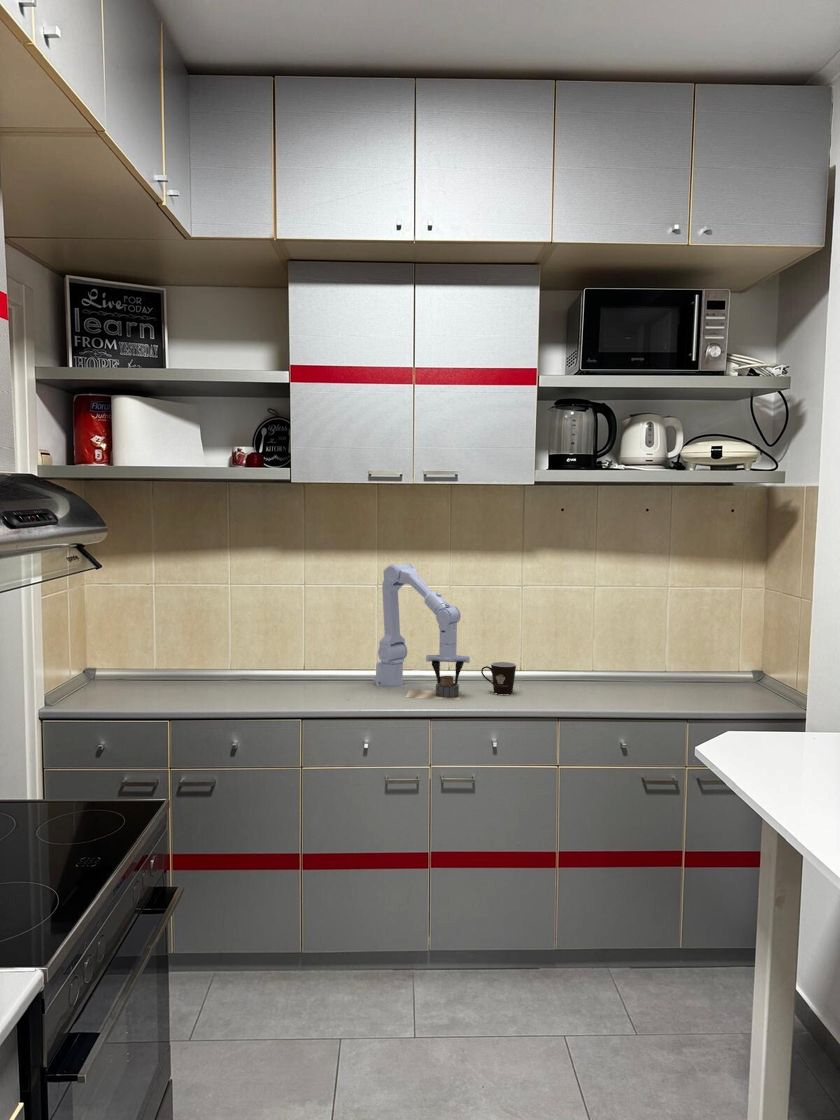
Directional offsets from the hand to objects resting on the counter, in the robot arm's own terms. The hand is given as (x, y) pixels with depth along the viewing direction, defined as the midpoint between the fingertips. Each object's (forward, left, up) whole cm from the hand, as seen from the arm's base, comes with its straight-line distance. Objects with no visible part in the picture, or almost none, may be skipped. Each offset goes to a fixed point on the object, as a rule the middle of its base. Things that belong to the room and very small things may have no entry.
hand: (447, 683), depth 272 cm
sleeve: (0, 0, -5) cm, 5 cm away
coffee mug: (+18, +11, -5) cm, 22 cm away
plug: (0, 0, -4) cm, 4 cm away
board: (-4, 0, -5) cm, 7 cm away
